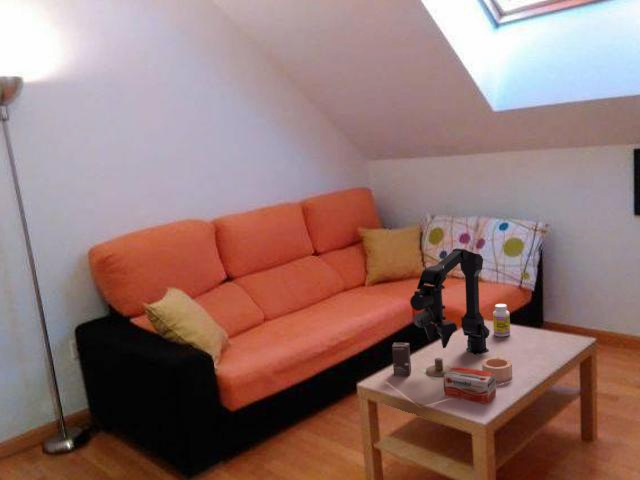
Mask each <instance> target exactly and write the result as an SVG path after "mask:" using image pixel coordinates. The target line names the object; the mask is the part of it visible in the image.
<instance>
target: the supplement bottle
mask: <svg viewBox="0 0 640 480" xmlns="http://www.w3.org/2000/svg"><path fill="white" fill-rule="evenodd" d="M494 308H495V310H494V311H493V312H492V321H493V322H492V323H493V334H494V335H495V337H496V336H497V337H502V338H503V337H504V338H505V337H508V336H510V334H511V321H510V320H511V319H510V317H511V316H510V311H509V310H508V306H507V304H505V303H497V304H495V306H494Z"/></svg>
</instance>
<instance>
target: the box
mask: <svg viewBox="0 0 640 480" xmlns="http://www.w3.org/2000/svg"><path fill="white" fill-rule="evenodd" d="M410 350H411V346H410V342H395V341H394V342H393V344H392V345H391V352H392V353H391V354H392V367H393V376H394V377H410V376H411V373H412V363H411V362H412V361H411V351H410Z"/></svg>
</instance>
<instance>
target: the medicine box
mask: <svg viewBox="0 0 640 480" xmlns="http://www.w3.org/2000/svg"><path fill="white" fill-rule="evenodd" d="M496 382H497V381H495V374H494V372H487V371H482V369H480V370H479V369H474V368H467V367H466V368H465V367H460V366H453V367H452V366H451V369H450V370H449V371H448V372H447V373H446V374H445V375H444V378H443V391H444V396H446V397H451V398H452V399H456V400H462V401H467V402H473V403H477V404H483V405H488V404H489V403H490V402H491V401H492V399H494V397H495V396H496V393H497V383H496Z"/></svg>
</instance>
